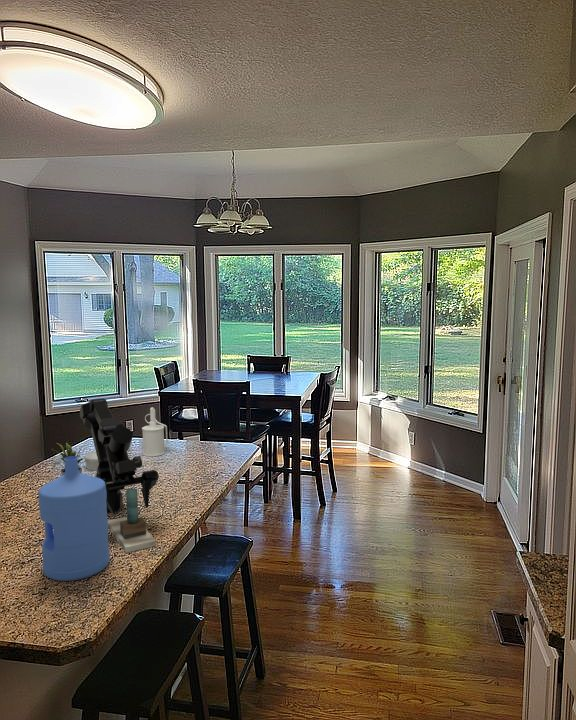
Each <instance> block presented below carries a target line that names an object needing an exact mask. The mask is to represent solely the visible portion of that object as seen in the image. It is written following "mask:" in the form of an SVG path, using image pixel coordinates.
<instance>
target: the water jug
mask: <svg viewBox="0 0 576 720" xmlns="http://www.w3.org/2000/svg"><path fill="white" fill-rule="evenodd" d="M64 460H65V464H64V465H65V466H64V468H65V474H64V475H63V476H62V475H61V476H59V477H58V478H57V477H56V478H55V479H53V480H52V481H49V482H47V483H45V484H44V485H42V486H41V487H40V489H39V490H38V508H39V516H40V517H39V519H40V520H41V521H43V522H44V536H45V538H44V540H43V542H42V544H41V549H42V550H41V552H42V553H41V554H42V562H41V563H42V572H43V574H44V575H45V576H46V577H47V578H49V579H51V580H54V581H59V582H60V581H61V582H71V581H79V580H84V579H86V578H90V577H93V576H94V575H96V574H99V573H100V572H101V571H103V570H104V569H105V568H106V567H107V566H108V565H109V562H110V560H111V558H110V549H109V527H108V520H109V519H108V512H107V505H106V499H107V492H106V485H105V482H104V481H103V480H102V479H100V478H97V477H95V476H93V475H89V474H86V473H85V474H84V473H83V472H82V473H79V470H78V466H79V465H80V464H79V463H78V460H79V457H77V455H76V456H70V457H66V458H64ZM79 467H80V466H79Z"/></svg>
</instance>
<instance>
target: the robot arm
mask: <svg viewBox="0 0 576 720" xmlns="http://www.w3.org/2000/svg"><path fill="white" fill-rule="evenodd" d="M79 417H80V420H82V422H83V425H84V426H85V427H86V428H88V429H89V430H90V432H91V437H92V441H93V445H94V449H95V451H96V454H97V458H98V462H99V465H98V468H97V471H96V472H95V473H96V474H95V476H94V477H97V478H100V479H102V480H103V481H104V482H105V485H106V492H107V499H106V505H107V513H111V514H112V515H113V516H114V515H115V514H116V512H118V511H119V510H120V509H121V508H122V506H124V500H123V498H124V497H123V492H121V490H125V487H127V486H128V487H129V486H133V485H139V484H140V486H141V487H142V488H141V493H142V499H143V502H144V506H145V508H146V509H147V508H148V507H149V504H150V503H149V499H150V492H151V490H152V489H153V487H154V486H156V485H157V483H158V480H159V472H158V471H157V470H156V469H150V470H145V471H142V474H141V476H137V477H134V476H136V471H137V469H141V468H142V467H143V461H142V457H141V455H137V456H134V457H132V459H131V458H129V455H128V451H129V449H130V446H131V443H132V441H133V437H134V434H133V432H132V431H131V429H130V428H128V427H126V426H124V423H122V421H121V420H119V419H115V418H114V416H113V414H112V412H111V411H110V409H109V404H108V401H107V399H106V398H102V397H101V398H93V399H91V400H88V402H86V403H83V404H82V405H81V407H80V409H79Z"/></svg>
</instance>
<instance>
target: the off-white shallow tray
mask: <svg viewBox="0 0 576 720" xmlns="http://www.w3.org/2000/svg"><path fill="white" fill-rule="evenodd" d="M107 520H108V530H110V531H111V534H113V536H114V538H115V539H116V540H117V542H118V543H119V544H120V547H121V548H122V549H123V551H124V552H125V554H127V553H131V552H135V551H139V550H144V549H147V548H151V547H156V545H157V544H156V543H157V542H156V541H157V540H156V539H155V538H154V537H153V535H151V533H150V532H149V531H148V529H146V534H144V535H140V536H135V537H131V538H127V539H124V538H123V536H122V535H121V533H120V521H125V520H127V516H124V517H123V516H122V517H118V518H114V519H107Z"/></svg>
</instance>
